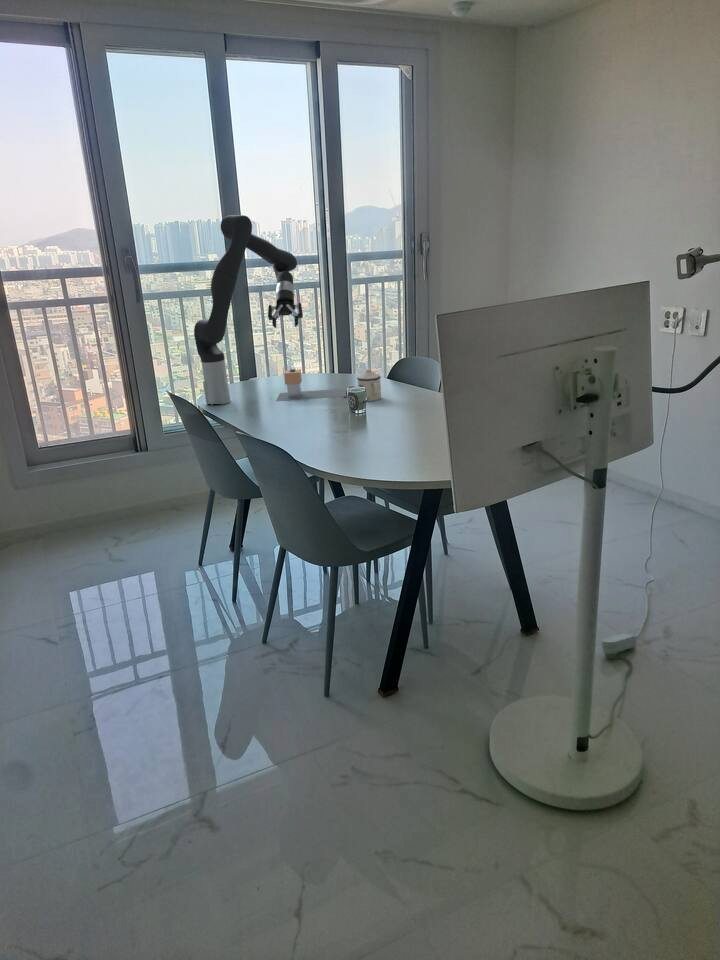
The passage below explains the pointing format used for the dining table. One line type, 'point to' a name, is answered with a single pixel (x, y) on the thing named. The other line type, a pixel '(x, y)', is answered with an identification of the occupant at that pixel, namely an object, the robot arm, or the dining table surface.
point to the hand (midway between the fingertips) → (285, 326)
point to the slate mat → (314, 394)
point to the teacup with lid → (370, 384)
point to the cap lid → (292, 376)
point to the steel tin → (294, 390)
